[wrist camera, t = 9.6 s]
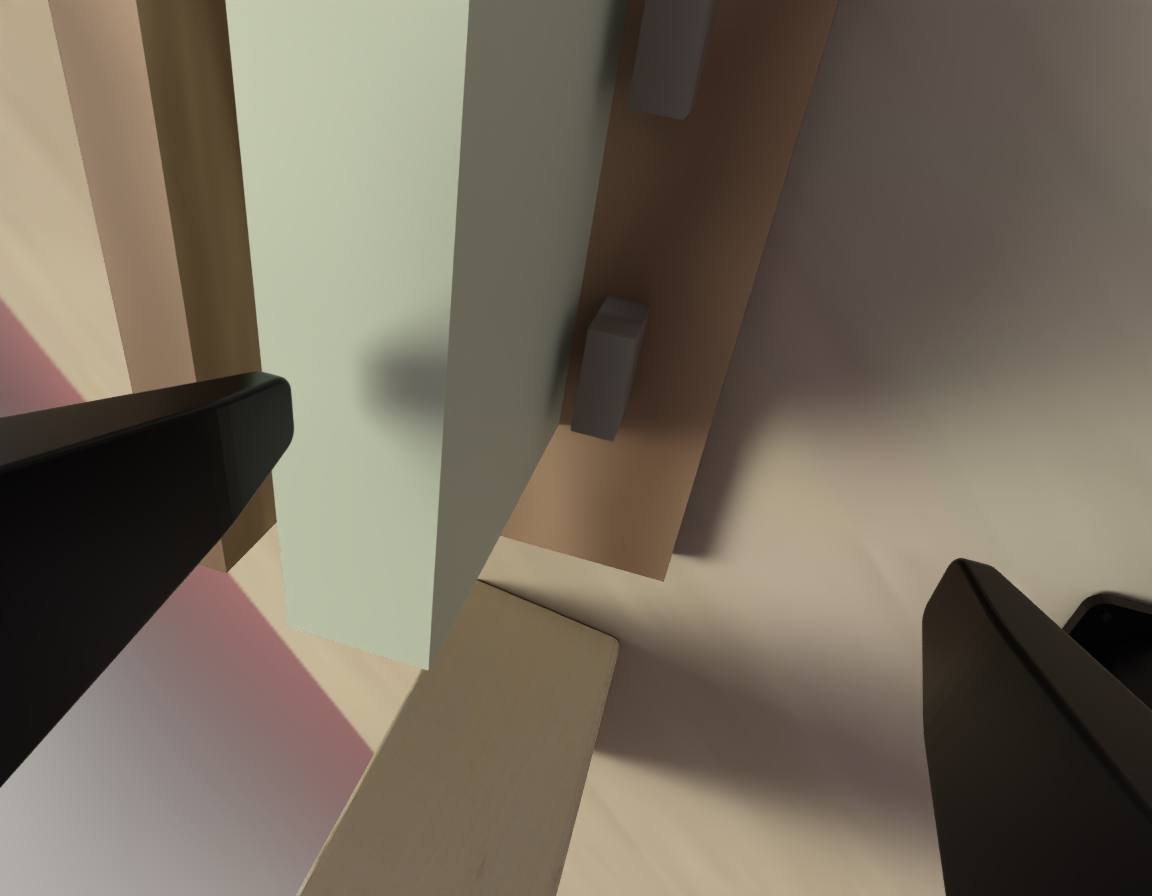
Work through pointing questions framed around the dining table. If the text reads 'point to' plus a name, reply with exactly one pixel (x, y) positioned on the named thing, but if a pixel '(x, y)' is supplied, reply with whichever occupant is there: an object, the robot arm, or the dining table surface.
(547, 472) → the cabinet base
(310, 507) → the door panel
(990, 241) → the dining table surface
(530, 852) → the toy refrigerator
